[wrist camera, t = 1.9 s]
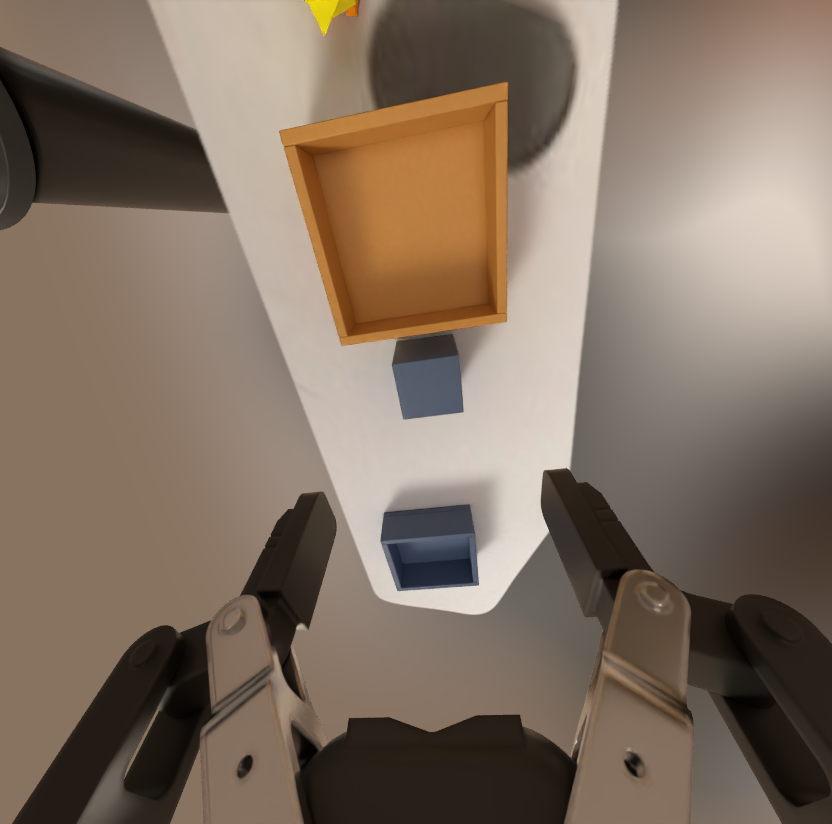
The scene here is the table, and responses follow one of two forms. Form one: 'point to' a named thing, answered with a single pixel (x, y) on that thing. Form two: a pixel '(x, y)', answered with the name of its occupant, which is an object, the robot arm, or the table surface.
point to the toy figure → (331, 10)
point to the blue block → (428, 377)
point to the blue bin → (431, 548)
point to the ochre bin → (408, 213)
